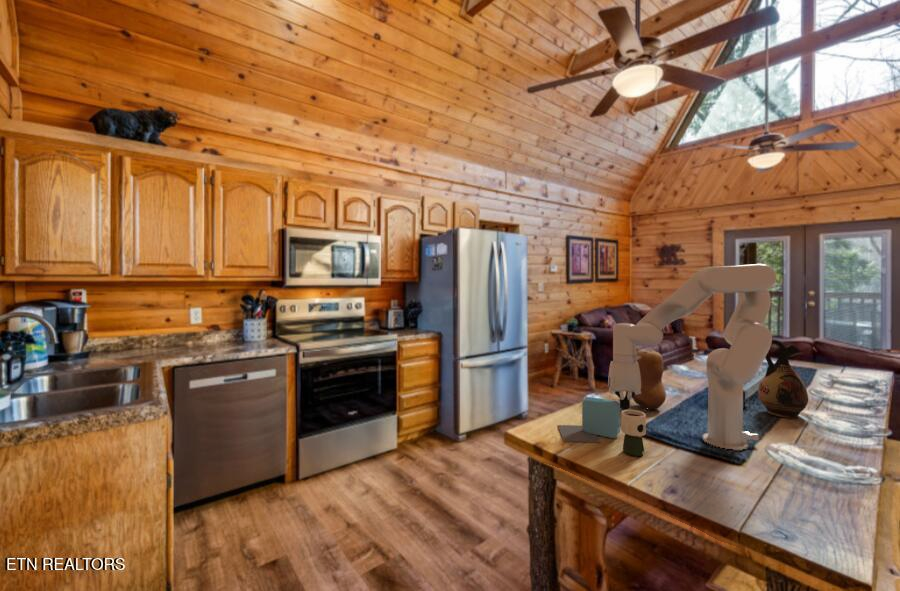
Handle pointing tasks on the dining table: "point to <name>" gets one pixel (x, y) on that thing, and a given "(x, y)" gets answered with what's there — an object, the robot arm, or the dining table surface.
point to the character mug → (633, 431)
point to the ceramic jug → (783, 384)
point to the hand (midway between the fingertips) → (624, 409)
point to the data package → (601, 417)
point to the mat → (576, 434)
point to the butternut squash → (650, 380)
